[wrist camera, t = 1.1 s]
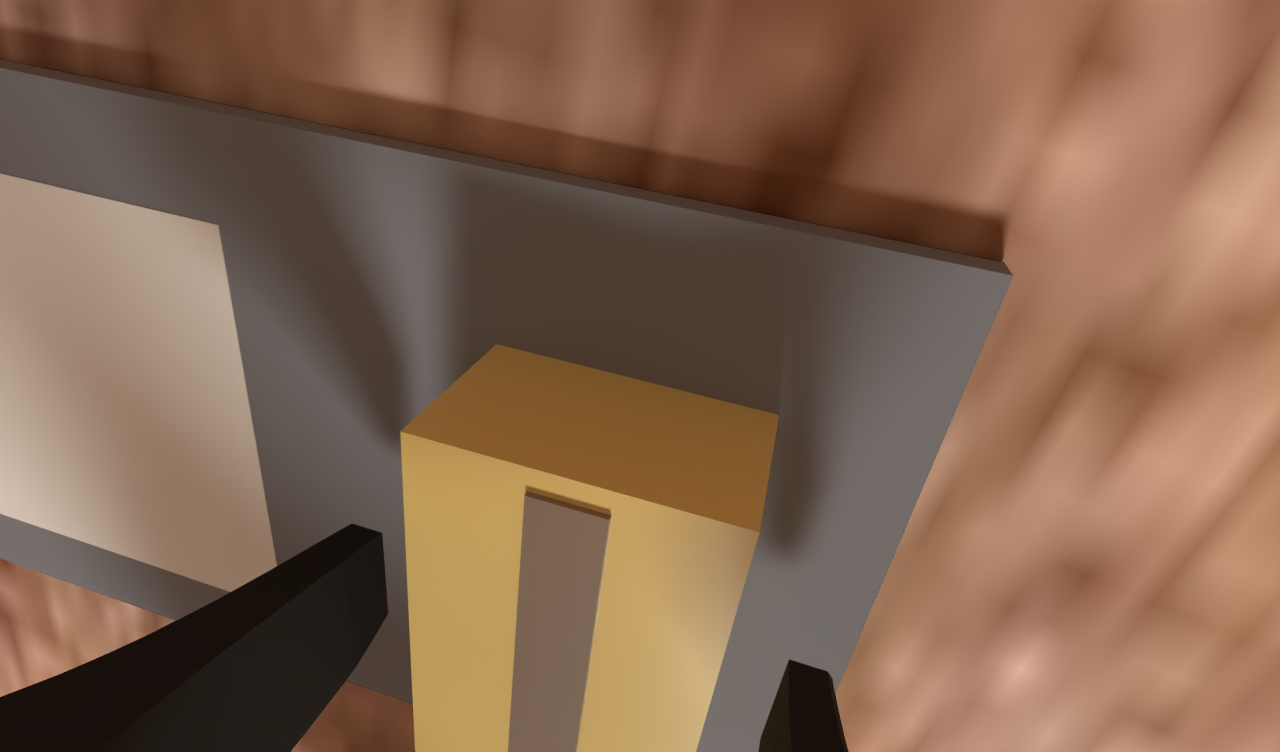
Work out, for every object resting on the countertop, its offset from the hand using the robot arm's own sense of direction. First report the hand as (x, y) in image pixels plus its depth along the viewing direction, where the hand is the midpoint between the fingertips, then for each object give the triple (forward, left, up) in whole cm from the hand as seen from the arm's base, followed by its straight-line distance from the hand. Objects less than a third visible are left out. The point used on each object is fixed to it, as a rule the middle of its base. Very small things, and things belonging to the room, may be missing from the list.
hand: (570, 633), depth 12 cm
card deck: (0, 0, -2) cm, 2 cm away
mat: (0, +7, -3) cm, 7 cm away
